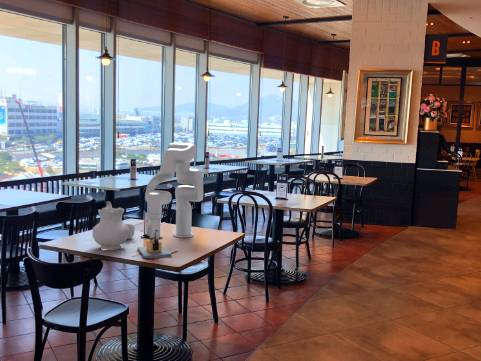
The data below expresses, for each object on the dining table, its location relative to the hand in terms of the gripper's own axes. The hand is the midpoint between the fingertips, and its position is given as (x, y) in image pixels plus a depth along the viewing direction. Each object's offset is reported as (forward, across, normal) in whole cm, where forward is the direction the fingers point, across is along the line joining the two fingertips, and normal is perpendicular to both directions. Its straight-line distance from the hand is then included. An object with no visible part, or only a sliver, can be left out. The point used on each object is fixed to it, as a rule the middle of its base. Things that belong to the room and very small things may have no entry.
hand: (154, 248), depth 251 cm
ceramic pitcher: (+3, -19, -20) cm, 28 cm away
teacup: (+3, -36, -10) cm, 37 cm away
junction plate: (+3, 0, 0) cm, 3 cm away
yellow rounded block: (+1, 0, 0) cm, 1 cm away
